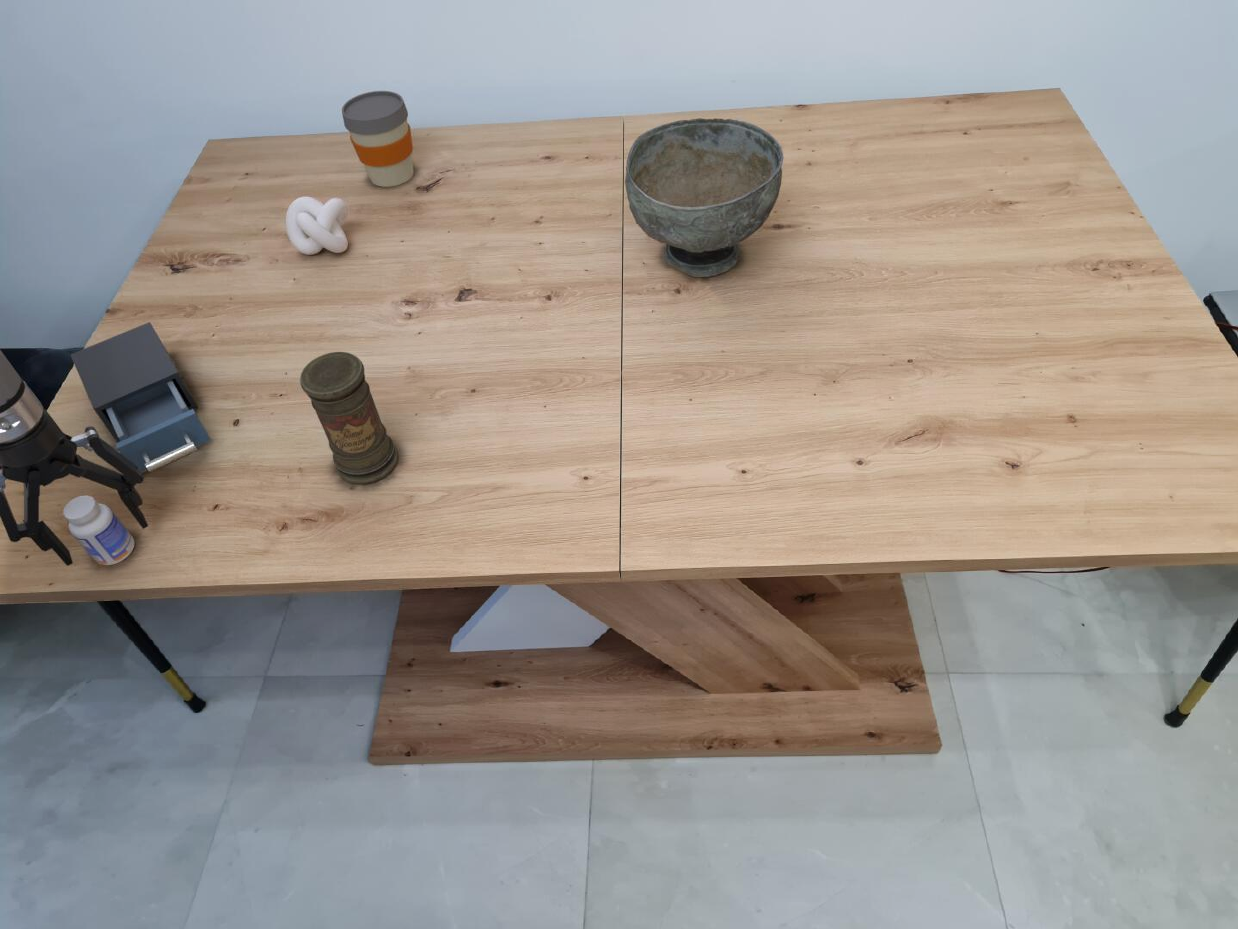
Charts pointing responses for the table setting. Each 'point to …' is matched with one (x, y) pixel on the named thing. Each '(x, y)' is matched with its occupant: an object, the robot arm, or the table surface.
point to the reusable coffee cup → (381, 136)
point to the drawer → (156, 427)
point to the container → (349, 417)
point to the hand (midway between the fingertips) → (106, 539)
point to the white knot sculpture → (317, 225)
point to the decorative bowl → (703, 189)
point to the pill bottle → (98, 530)
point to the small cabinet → (126, 370)
